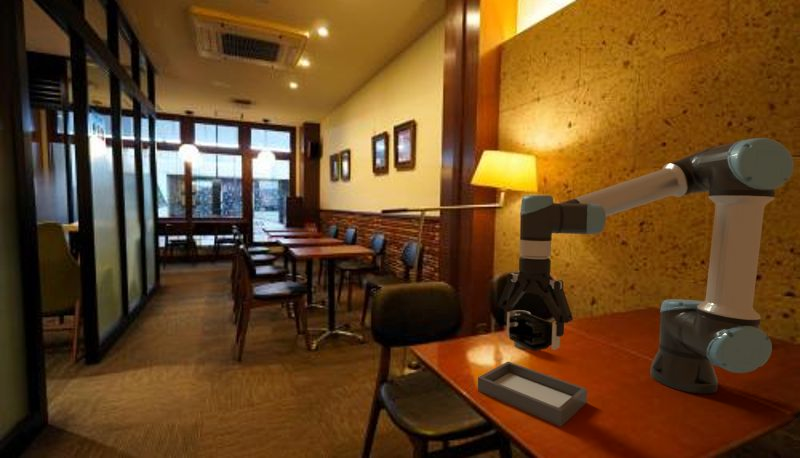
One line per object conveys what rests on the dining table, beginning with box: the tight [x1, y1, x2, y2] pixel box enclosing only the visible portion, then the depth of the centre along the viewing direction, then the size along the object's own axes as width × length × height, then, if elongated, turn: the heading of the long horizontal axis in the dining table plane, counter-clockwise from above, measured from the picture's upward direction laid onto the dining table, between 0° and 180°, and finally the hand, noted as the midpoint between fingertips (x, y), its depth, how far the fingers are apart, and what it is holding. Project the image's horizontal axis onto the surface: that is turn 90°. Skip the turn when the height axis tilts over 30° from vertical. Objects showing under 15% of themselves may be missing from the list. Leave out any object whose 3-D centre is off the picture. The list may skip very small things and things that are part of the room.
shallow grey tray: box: [477, 361, 588, 428], centre depth 95 cm, size 22×15×4 cm
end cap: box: [509, 312, 553, 352], centre depth 95 cm, size 10×7×7 cm
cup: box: [513, 309, 532, 350], centre depth 130 cm, size 7×7×12 cm
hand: (531, 341), depth 95 cm, fingers closed on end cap, 11 cm apart
